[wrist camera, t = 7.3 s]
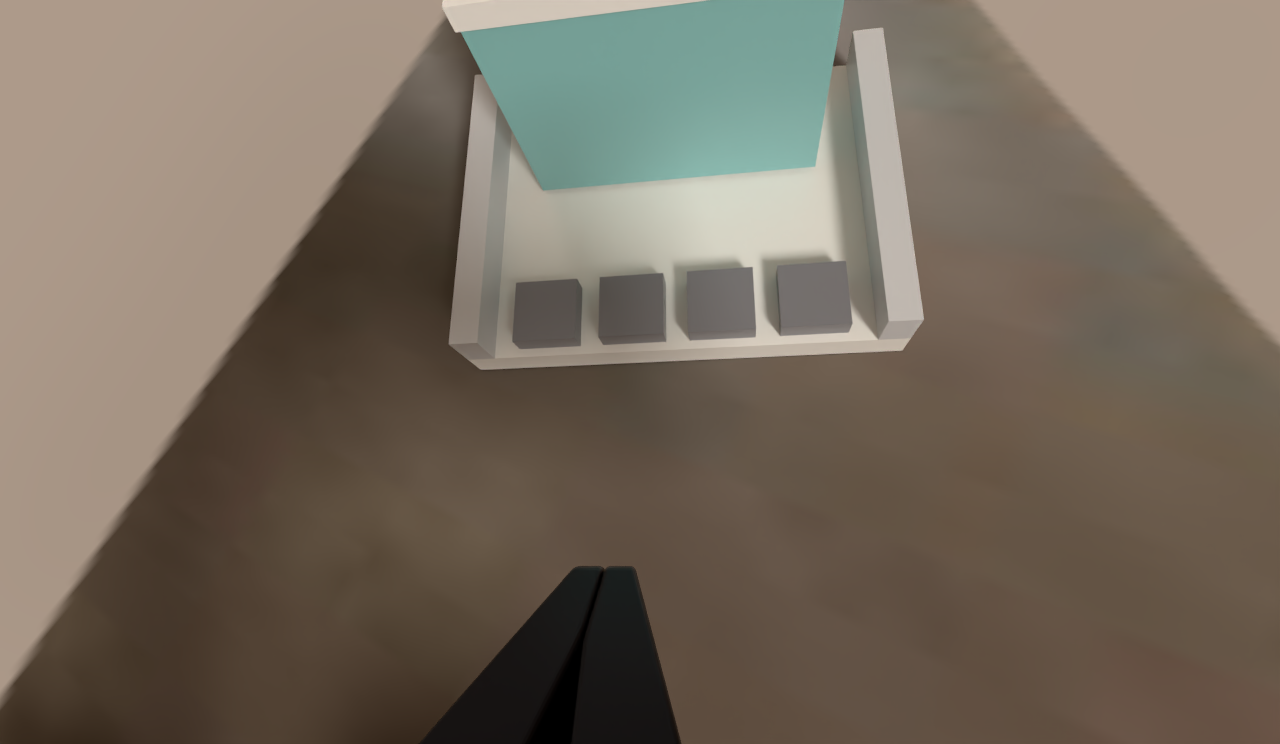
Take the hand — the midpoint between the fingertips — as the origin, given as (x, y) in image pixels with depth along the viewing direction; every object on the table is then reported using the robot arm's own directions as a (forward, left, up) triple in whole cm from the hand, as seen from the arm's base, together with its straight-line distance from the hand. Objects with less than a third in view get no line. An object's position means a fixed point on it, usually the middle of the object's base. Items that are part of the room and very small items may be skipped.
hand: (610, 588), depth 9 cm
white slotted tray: (+10, -7, -12) cm, 18 cm away
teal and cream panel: (+13, -9, -11) cm, 19 cm away
